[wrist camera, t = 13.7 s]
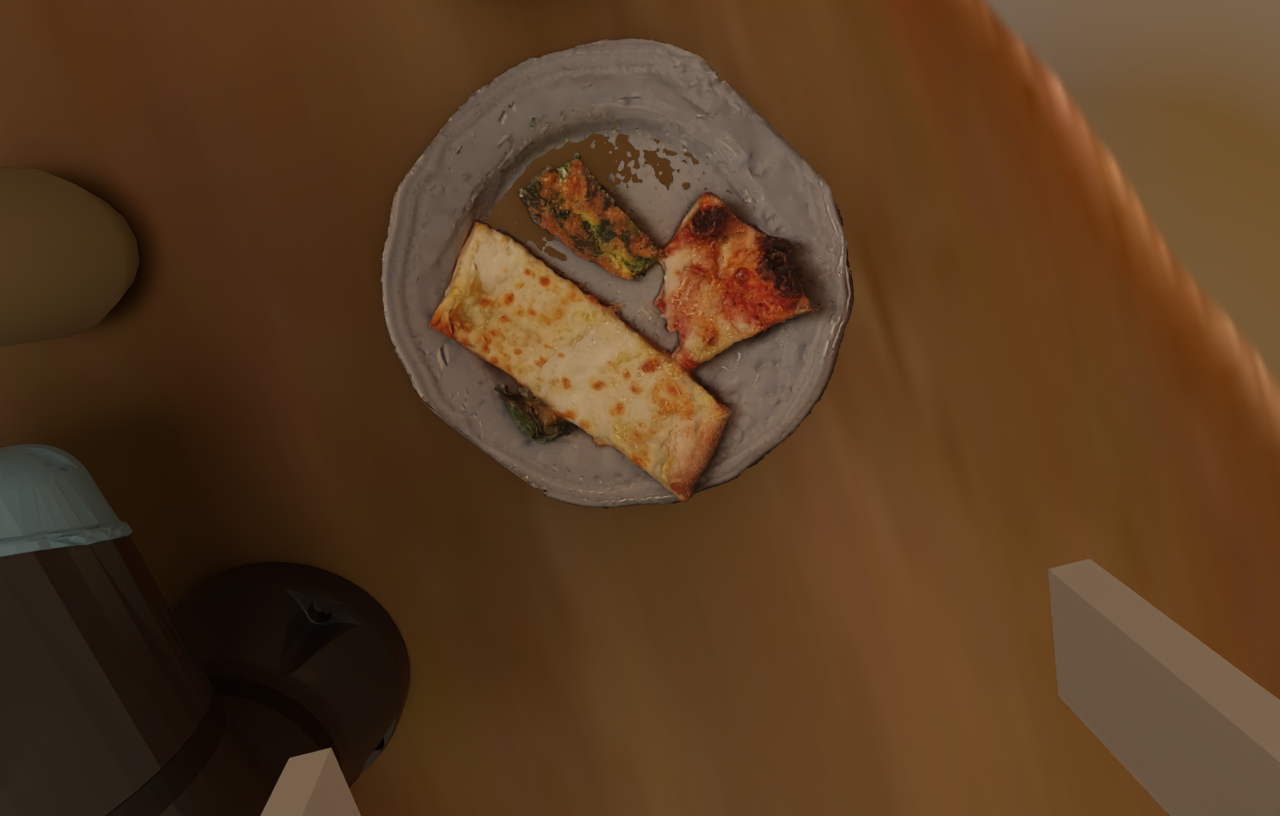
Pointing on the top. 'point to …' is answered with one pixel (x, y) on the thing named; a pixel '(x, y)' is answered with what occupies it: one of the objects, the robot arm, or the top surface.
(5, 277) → the squeeze bottle
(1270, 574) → the top surface
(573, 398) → the food plate
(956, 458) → the top surface
